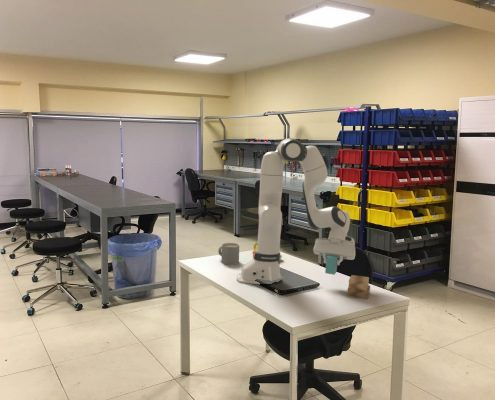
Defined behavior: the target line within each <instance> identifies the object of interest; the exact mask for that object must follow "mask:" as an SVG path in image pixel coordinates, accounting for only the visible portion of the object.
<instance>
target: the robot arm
mask: <svg viewBox="0 0 495 400" xmlns="http://www.w3.org/2000/svg"><path fill="white" fill-rule="evenodd" d="M261 159H262V160H261V165H260V177H259V196H258V211H257V213H258V231H257V243H258V250H257V251H255V250H254V251H252V259H251V260H249V261H248V262H246V263H245V264H244V265H243V266H242V268H241V272H240V273H238V274H237V275H236V281H237V282H238V283H240V284H241V283H242V284H243V283H244V284H250V285H251V284H253V285H260V283H259V282H257V281H255V280H256V279H262V280H270V281H273V280H277V279H279V278H281V279H282V276H281V274H282V273H281V267H280V266H281V265H280V264H281V260H280V257H281V252H280V250H281V233H282V222H283V213H282V211H281V207H282V206H281V205H282V198H283V197H282V196H283V195H282V194H283V185H284V184H283V183H284V167H285V164H286V163H287V162H298V163H299V164H300V166H301V168H302V171H303V175H304V181H303V182H302V186H301V187H302V194H303V198H304V199H303V200H304V205H305V208H306V209H305V210H306V220H307V224H308V226H309V227H310V228H311V229H313V230H315V231H316V230H322V229H325V228H330V231H329V232H328V233H329V234H328V238H327V237H318V238H316V239H315V241H314V246H313V249H312V251H313V254H314V255H318V256H322V257H323V264H326V258H327V256H328V255H332V256H338V259H337V261H336V265H337V266H340V264H341V262H343V261H344V260H350V261H353V260H354V259H356V258H355V257H356V246H355V245H356V244H355V239H354V238H353V237H351V236H348V232H349V229H350V224H351V223H350V222H351V216H350V214H349V213H348V212H347V211H345V210H342V209H341V208H339V207H338V206H336V205H335V206H329V207H325V208H317V204H316V198H315V191H316V190H317V188H318V187H320V186H321V185H322V184H324V182H326V180H327V178H328V169H327V166H326V163H325V161H324V158H323V156H322V154H321V152H320V150H319V148H318V147H317V146H315V145H304V144H303V143H301V141H300V140H298V139H295V138H294V137H293V138H292V137H288V138H284V139H282V140H280V142H278V143H277V146H276V148H275V149H274V150H273V151H268V152H265V154H263V156H262V158H261ZM281 258H282V257H281Z"/></svg>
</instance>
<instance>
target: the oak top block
mask: <svg viewBox="0 0 495 400" xmlns="http://www.w3.org/2000/svg"><path fill="white" fill-rule="evenodd" d="M350 275H351V276H350V277H349V279H348V287H347V289H348V288H351V289H358V290H365V291H366V290H367V288H368V285H370V284H369V283H370V282H369V280H370V277H369V276H364V275H354V274H350Z"/></svg>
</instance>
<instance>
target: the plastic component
mask: <svg viewBox="0 0 495 400" xmlns="http://www.w3.org/2000/svg"><path fill="white" fill-rule="evenodd" d="M252 250H253V251H254V250H255V251H257V250H258V242H254V243H253V249H252ZM253 251H252V252H253ZM280 255H281V254H280ZM282 258H283V255H281V257H280V261H281V260H282Z"/></svg>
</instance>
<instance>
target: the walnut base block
mask: <svg viewBox="0 0 495 400" xmlns="http://www.w3.org/2000/svg"><path fill="white" fill-rule="evenodd" d="M370 293H371V285H370V284H369V285H368V288H367V290H366V291H365V290H358V289H351V288H348V287H347V294H346V296H347V297H351V298H358V299H365V300H368V299H369V296H370Z"/></svg>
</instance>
